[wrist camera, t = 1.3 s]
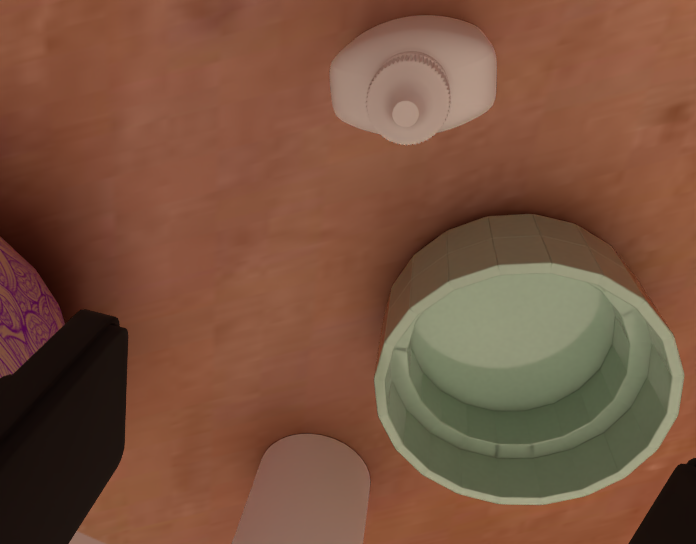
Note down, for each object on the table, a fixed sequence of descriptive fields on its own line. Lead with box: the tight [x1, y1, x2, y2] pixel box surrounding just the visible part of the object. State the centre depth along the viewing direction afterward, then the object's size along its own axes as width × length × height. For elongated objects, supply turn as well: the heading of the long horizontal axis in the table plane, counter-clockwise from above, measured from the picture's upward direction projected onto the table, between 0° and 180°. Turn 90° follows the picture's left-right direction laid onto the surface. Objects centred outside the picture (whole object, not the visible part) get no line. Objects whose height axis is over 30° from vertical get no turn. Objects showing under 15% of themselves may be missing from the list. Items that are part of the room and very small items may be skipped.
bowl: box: [374, 214, 684, 505], centre depth 29 cm, size 13×13×6 cm
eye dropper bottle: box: [329, 15, 497, 146], centre depth 21 cm, size 4×6×12 cm
